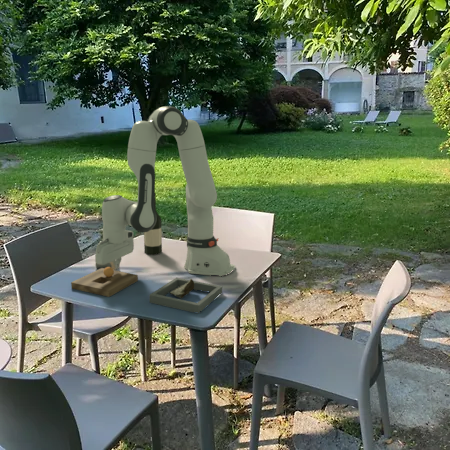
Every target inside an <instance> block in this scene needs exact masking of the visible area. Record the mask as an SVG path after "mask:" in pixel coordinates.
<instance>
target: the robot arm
mask: <svg viewBox="0 0 450 450" xmlns="http://www.w3.org/2000/svg"><path fill="white" fill-rule="evenodd" d="M162 136H173V137H174V138H175V140H176V142H177V148H178V153H179V159H180V163H181V167H182V172H183V175H184V178H185V182H186V184H185V203H186V212H187V213H186V214H187V236H186V247H187V251H186V252H187V253H186V258H185V262H184V267H183V268H184V269H185V270H186V271H187V273H188V274H192V275H194V274H195V275H204V276H211V275H219V276H218V277H221V276H222V275H226V274H228V273H230V272H231V271H232V270H234V268H235V269H236V265H235V264H232V263H231V258H230V255H229V254H228V253H227V252H226V251H225V250H224V249H222V248H221V247H220V246H219V245H218V241H219V238H216V237H215V236H214V215H213V214H214V213H213V208H212V207H213V206H214V205H215V203H216V202H217V199H218V194H217V189H216V186H215V181H214V177H213V173H212V171H211V168H210V167H211V166H210V165H209V159H208V154H207V149H206V144H205V143H206V142H205V140H204V136H203V133H202V130H201V127H200V124H199V122H197V121H196V120H194V119H187V118H186V116H185V115H184V114H183V113H182V112H181V110H180V109H178V108H177V107H175V106H166V105H165V106H161V107H157V108H155V109H154V110H153V111H152V112H151V113H150V114H149V116H148V118H146V120H140V121H139V120H138V121H136V122H135V123H134V124H133V125H132V128H131V131H130V135H129V138H128V144H127V154H126V155H127V157H126V158H127V165H128V166H129V168H130V170H131V171H132V172H133V174H134V175H135V178H136V180H137V201H133V200H131V199H130V200H129V199H128V198H126V197H123V196H122V195H120V194H115V195H114V194H112V195H109V196H107V197H105V198H104V199H103V201H102V206H101V219H102V222H103V225H102V240H101V241H99V242H98V244H97V245H96V248H95V260H94V262H95V264H96V263H97V264H99V265H105V264H107V263H109V262H110V264H111V265H112V267H111V268H113V270H115V271H117V270H118V269H119V268H120V267H121V266H120V264H121V262H122V258H123V257H124V256H126V255H130V254H131V253H133V251H134V249H135V247H134V246H135V245H134V244H135V243H134V242H135V241H134V232H133V231H131V230H126V228H127V226H131V227H132V228H133V229H134V230H136V231H137V232H138V233H141V234H142V233H143V234H144V232H148V231H150V230H151V229H152V228H153V227H154V226H155V224H156V221H157V215H156V212H155V208H154V195H155V194H156V191H155V190H156V155H157V147H158V146H157V144H158V142H159V139H160V138H161V137H162ZM234 271H235V270H234ZM226 276H227V275H226ZM222 277H223V276H222Z"/></svg>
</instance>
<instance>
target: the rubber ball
mask: <svg viewBox="0 0 450 450" xmlns="http://www.w3.org/2000/svg"><path fill="white" fill-rule="evenodd" d="M113 274H114V270H113V268H112V267H106V268H105V269H104V275H105V276H106V277H111V276H112V275H113Z"/></svg>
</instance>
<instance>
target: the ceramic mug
mask: <svg viewBox="0 0 450 450" xmlns="http://www.w3.org/2000/svg"><path fill="white" fill-rule="evenodd" d="M106 267H111V268H112V265H111V264H110V262H109V263H107V264H105V265H99V264H97V263H96V262H95V268H98V269H101V268H106Z"/></svg>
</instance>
